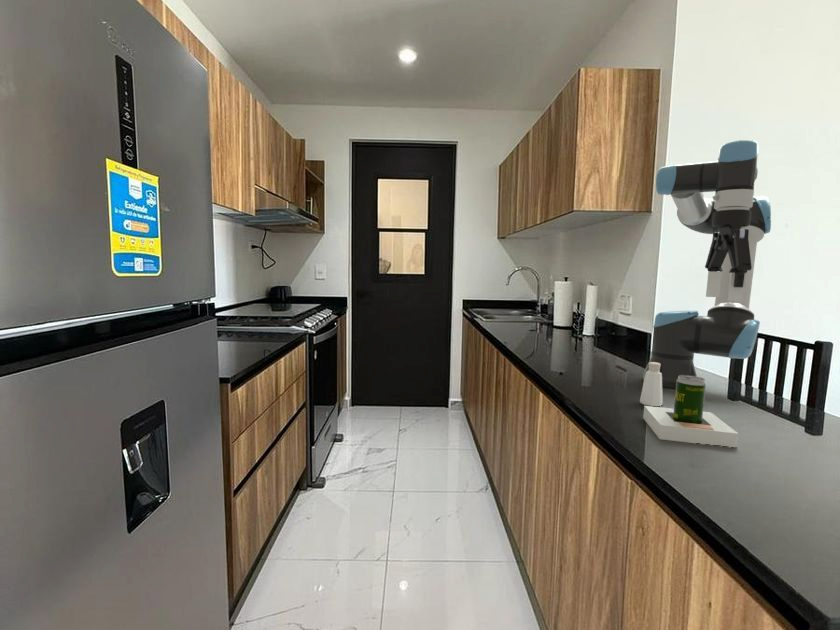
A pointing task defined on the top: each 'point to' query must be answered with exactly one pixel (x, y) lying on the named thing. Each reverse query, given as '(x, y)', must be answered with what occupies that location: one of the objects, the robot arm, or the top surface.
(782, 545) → the top surface
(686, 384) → the beer can
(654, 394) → the salt shaker
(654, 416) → the socket block
